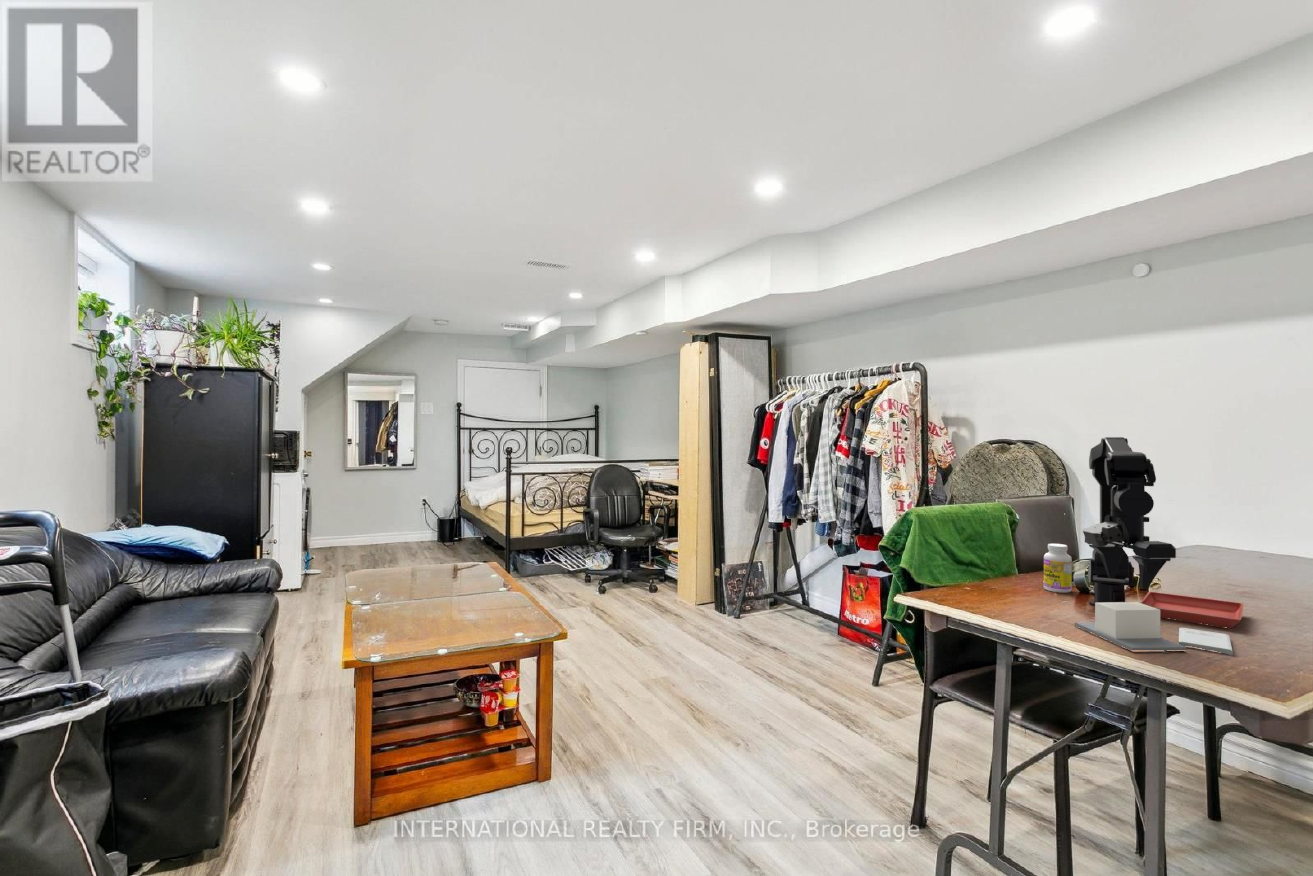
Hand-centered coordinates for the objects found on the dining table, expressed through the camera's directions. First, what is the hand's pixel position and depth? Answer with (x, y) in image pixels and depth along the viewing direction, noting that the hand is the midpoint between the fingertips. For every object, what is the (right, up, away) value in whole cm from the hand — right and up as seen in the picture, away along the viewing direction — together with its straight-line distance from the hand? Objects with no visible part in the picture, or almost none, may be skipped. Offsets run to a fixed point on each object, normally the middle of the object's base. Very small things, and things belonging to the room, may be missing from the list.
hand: (1127, 583), depth 133 cm
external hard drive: (+14, -13, -3) cm, 19 cm away
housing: (0, -11, 0) cm, 11 cm away
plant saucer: (+28, -12, +16) cm, 34 cm away
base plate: (0, -12, 0) cm, 12 cm away
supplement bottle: (+11, -12, +41) cm, 44 cm away
